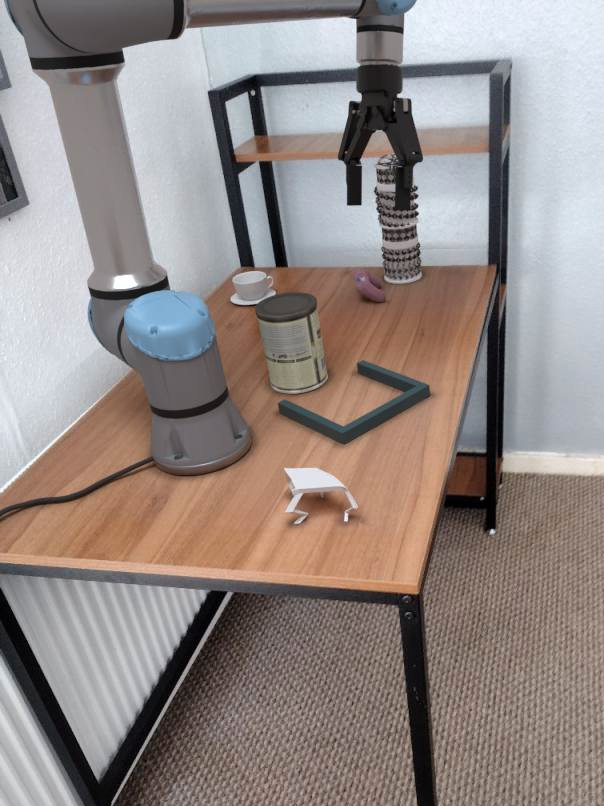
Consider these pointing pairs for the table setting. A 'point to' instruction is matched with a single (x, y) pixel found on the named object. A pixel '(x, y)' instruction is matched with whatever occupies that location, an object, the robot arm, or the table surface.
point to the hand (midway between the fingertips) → (377, 207)
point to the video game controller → (368, 285)
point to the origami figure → (313, 487)
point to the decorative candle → (397, 227)
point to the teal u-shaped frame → (345, 434)
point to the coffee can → (292, 342)
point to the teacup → (251, 288)
